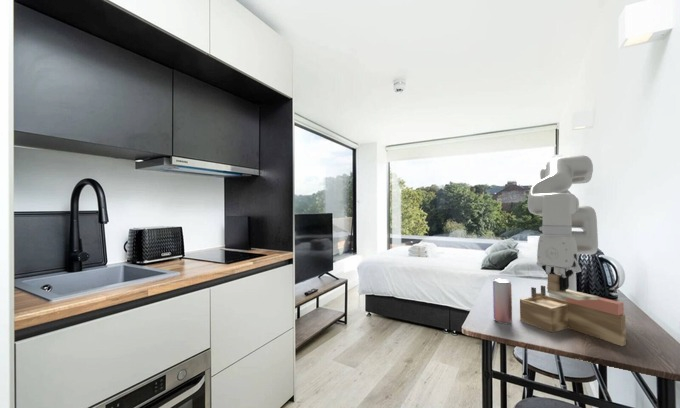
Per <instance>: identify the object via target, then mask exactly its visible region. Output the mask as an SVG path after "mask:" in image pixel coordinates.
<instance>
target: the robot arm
mask: <svg viewBox="0 0 680 408" xmlns="http://www.w3.org/2000/svg"><path fill="white" fill-rule="evenodd" d="M592 161H593V160H592V159H591V158H590V157H589V156H587V155H571V156H562V157H555V158H552V159H550V160H549V161H548V162H547V163H546V165H545V167H542V169H541V170H540V171H539V172H540V173H539V176H540V177H539V178H540V180H539V181H537V182H535V183H534V184H533V185H532V186H531V187H530V189H529V191H528V197H527V203H526V204H527V205H526V206H527V209H528V211H529V213H530V214H533V215H536V216H542V225H541V226H539V228H538V229H539V231H541V232H542V234H539V238H538V242H537V249H536V250H537V251H536V253H537V254H536V258H537V259H536V261H537V262H536V265H537V266H539V267H540V268H542V270H543V271H544V272H545V275H547V276H548V274H560V275H561V277H560V290H567V289H569V290H573V291H577V273H580V272H582V271H583V270H582V267H581V266H580V263H579V255H586V256H587V255H588V256H590V255H595V254H596V253H597V252H598V250H599V237H598V235H599V234H598V220H597V219H598V218H597V213H596V210H595V209H594V208H593V207H592V206H589V205H580V201H579V198H578V197H577V196H576V195H575V194H574V193H572V192H571V191H570V190H569V189H570V188H571V187H572V185H578V184H587V183H589V182H590V181H591V180H592V178H593V171H594V165H593V162H592ZM572 229H581V230H582V231H581V230H572ZM548 296H550V297H554V298H557V299H561V300H565V301H567V297H563V296H559V295H555V294H551V293H548Z"/></svg>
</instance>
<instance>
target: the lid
mask: <svg viewBox="0 0 680 408" xmlns="http://www.w3.org/2000/svg"><path fill="white" fill-rule="evenodd" d="M560 277H561V275H560V274H548V275H547V285H546V287H547V288H546V289H547V291H546V292H547V293H548V294H549V293H551V294H555V295H559V296H563V297H567V298H571V299H575V300H599V297H600V296H598V295H594V294H589V293H585V292H581V291H577V290H576V291H573V290H569V289H567V290H560Z"/></svg>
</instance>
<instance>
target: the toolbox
mask: <svg viewBox="0 0 680 408" xmlns="http://www.w3.org/2000/svg"><path fill="white" fill-rule="evenodd" d="M530 289H531V290H530V292H531V293H530V294H531V296H529V297H523V298H519V314H520V315H519V321H520V322H523V323H525V324H528V325H531V326H533V327H536V328H538V329H542V330H544V331H547V332H549V333H554V332H558V331H562V330H565V329H566V330H567V329H570V330H574V331H577V332H579V333H583V334H585V335H588V334H589V335H588V336H591V335H592V336H591V337H594V336H595V337H594V338H597V339H599V338H600V339H599V340H602V339H603V341H606V342H608V343H611V344H615V345H618V346H620V347H623V346H626V345H627V339H626V338H627V335H626V334H627V333H626V330H627V329H626V314H622V315H619V316H618V315H614V314H610V313H607V312H603V311H599V310H595V309H592V308H588V307H584V306H580V305H577V304H573V303H569V302H567V301H565V300H561V299H557V298H554V297H550V296H549V295H547V294H546V292H547V291H546V285H540V292H537V287H534V286H532V287H531V288H530Z"/></svg>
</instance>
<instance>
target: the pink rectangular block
mask: <svg viewBox="0 0 680 408" xmlns="http://www.w3.org/2000/svg"><path fill="white" fill-rule="evenodd" d="M567 302H569V303H573V304H577V305H580V306H584V307H588V308H592V309H595V310H599V311H603V312H607V313H610V314H614V315H618V316H619V315H622V314H623V315H625V313H624V312H625V311H624V308H625V306H624V302H623V301H622V302H621V301H618V300H614V299H610V298H606V297H600V296H599V300H575V299H571V298H567Z"/></svg>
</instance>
